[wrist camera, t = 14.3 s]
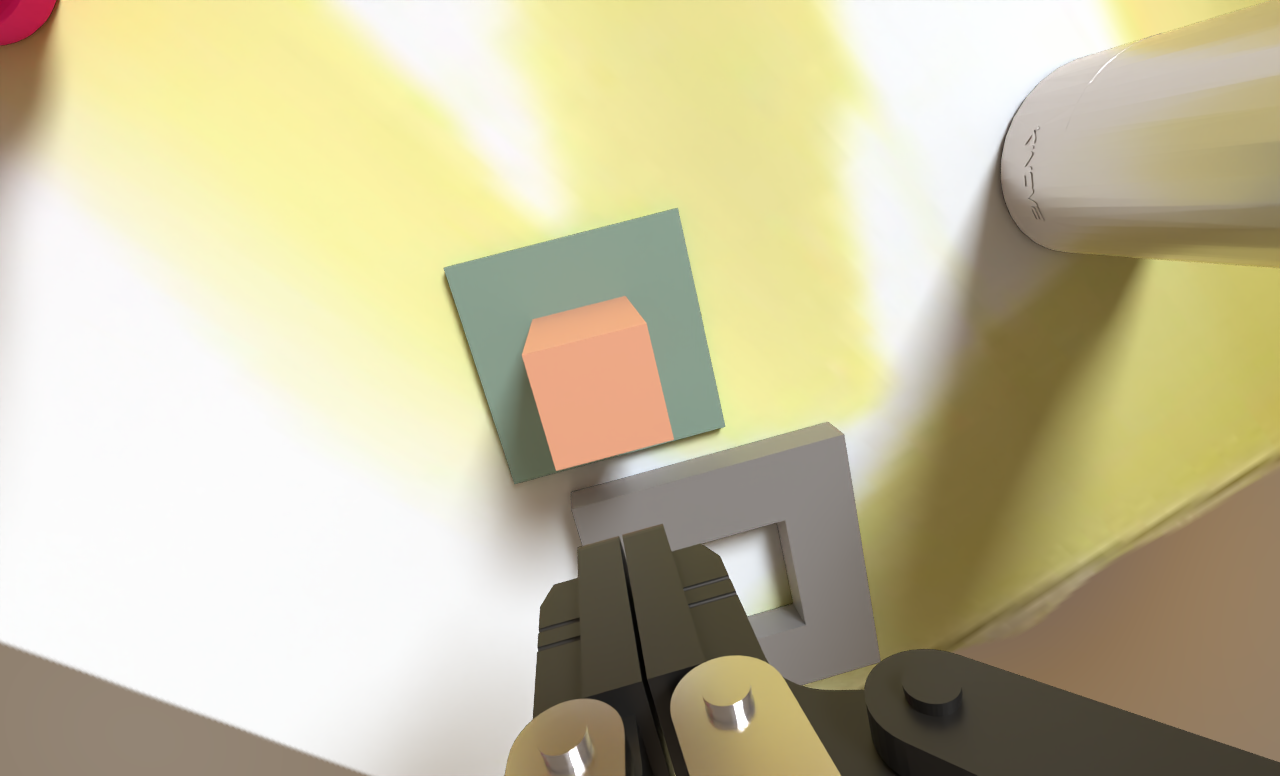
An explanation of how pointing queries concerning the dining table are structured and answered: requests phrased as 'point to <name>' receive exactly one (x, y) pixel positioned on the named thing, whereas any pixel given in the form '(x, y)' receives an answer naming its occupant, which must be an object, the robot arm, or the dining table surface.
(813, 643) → the pocket plate
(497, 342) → the rubber pad
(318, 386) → the dining table surface
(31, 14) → the pepper mill
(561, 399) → the terracotta block
